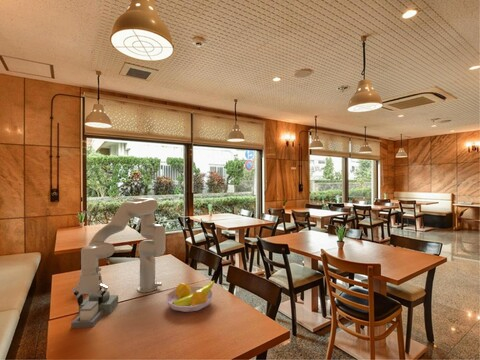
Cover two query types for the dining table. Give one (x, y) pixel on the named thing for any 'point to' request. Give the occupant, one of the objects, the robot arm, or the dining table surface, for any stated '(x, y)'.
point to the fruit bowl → (189, 297)
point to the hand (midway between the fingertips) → (90, 303)
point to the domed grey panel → (103, 308)
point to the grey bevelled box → (89, 311)
